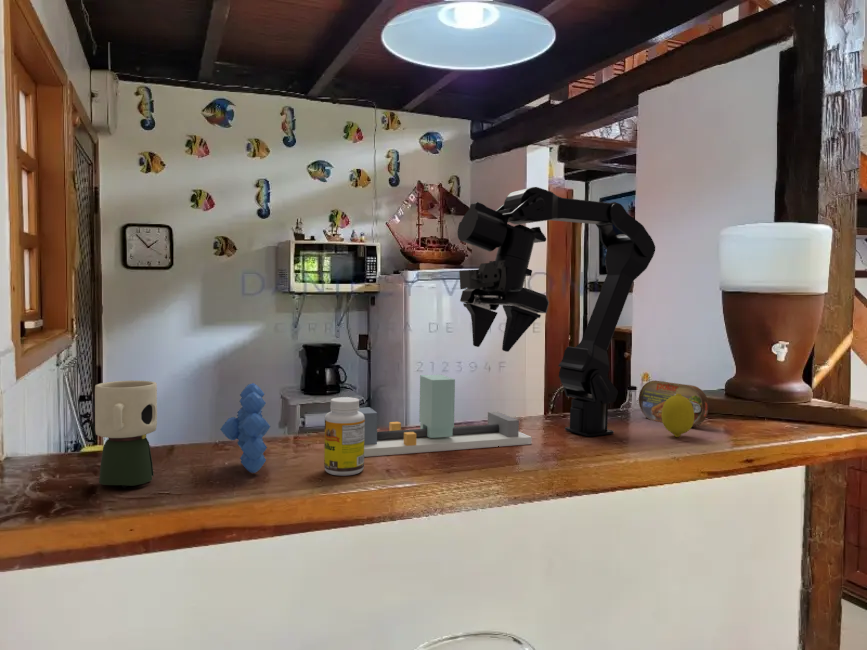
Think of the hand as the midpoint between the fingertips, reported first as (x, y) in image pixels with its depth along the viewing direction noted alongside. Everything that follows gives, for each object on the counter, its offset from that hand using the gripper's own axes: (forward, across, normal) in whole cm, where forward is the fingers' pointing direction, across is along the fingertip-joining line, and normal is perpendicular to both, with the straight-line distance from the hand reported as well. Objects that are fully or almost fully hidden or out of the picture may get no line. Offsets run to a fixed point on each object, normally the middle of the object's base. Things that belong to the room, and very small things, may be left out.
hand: (490, 348), depth 104 cm
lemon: (+7, +9, +38) cm, 39 cm away
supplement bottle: (+23, +6, -22) cm, 33 cm away
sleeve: (+16, -3, -4) cm, 17 cm away
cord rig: (+18, -3, -3) cm, 18 cm away
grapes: (+26, 0, -34) cm, 43 cm away
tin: (+4, 0, +47) cm, 47 cm away
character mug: (+30, +1, -49) cm, 57 cm away
